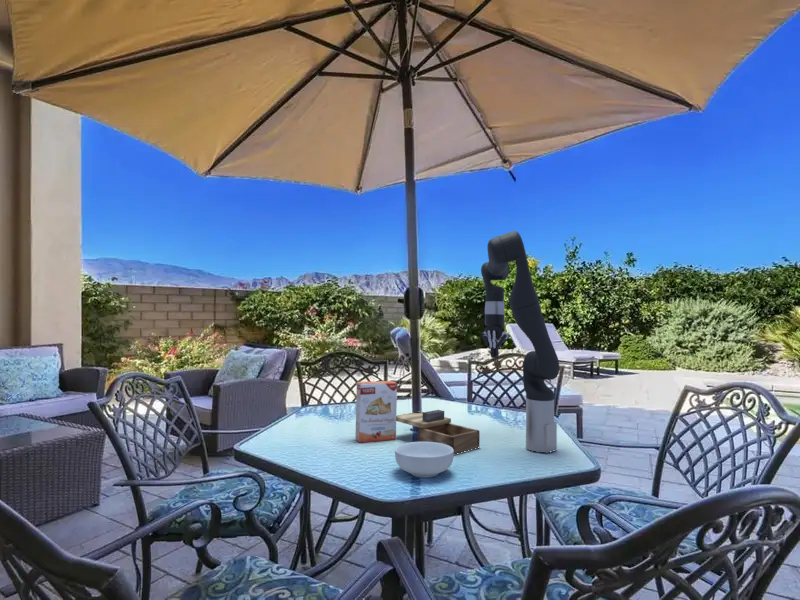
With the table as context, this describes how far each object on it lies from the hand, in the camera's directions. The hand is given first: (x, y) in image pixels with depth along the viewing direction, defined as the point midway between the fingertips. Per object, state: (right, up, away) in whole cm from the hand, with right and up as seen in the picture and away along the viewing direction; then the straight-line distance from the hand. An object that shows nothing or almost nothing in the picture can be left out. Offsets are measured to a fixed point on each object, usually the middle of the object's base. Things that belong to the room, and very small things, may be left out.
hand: (494, 357), depth 183 cm
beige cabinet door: (-29, -22, -10) cm, 38 cm away
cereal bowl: (-30, -28, -48) cm, 63 cm away
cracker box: (-46, -29, -13) cm, 55 cm away
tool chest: (-20, -28, -21) cm, 40 cm away
